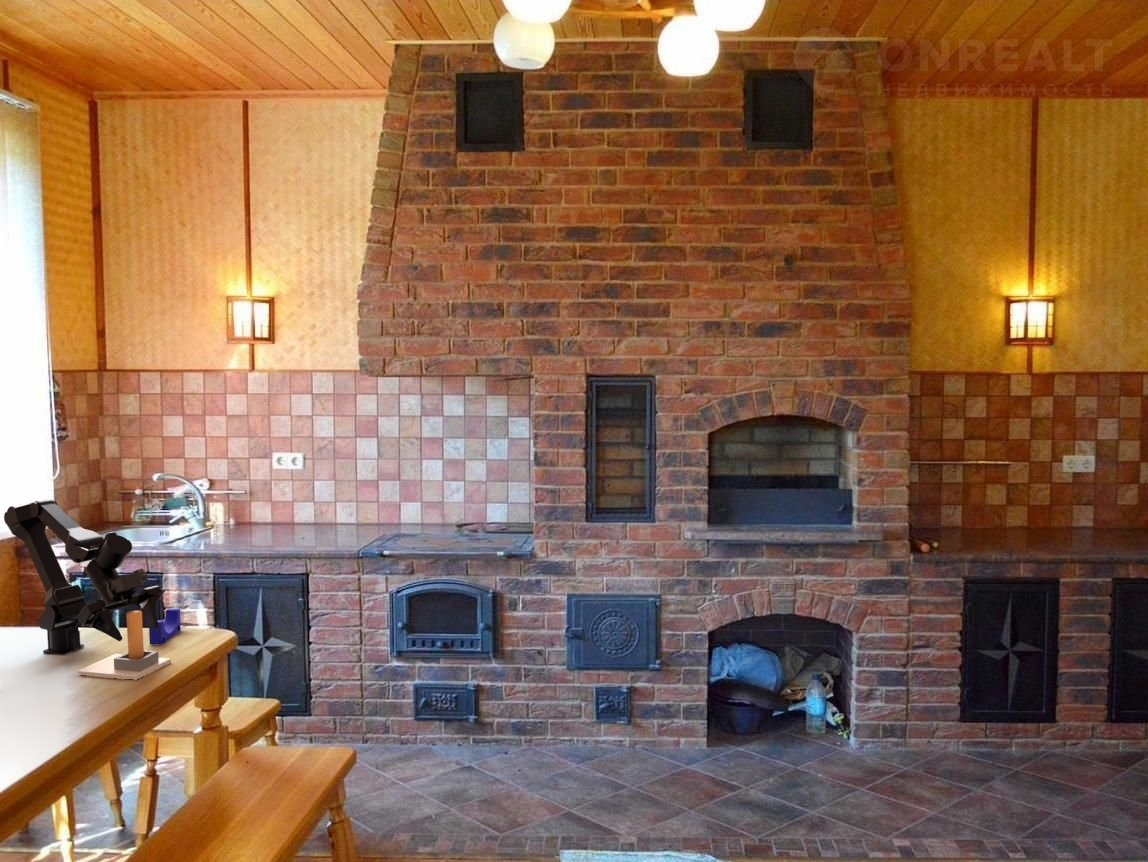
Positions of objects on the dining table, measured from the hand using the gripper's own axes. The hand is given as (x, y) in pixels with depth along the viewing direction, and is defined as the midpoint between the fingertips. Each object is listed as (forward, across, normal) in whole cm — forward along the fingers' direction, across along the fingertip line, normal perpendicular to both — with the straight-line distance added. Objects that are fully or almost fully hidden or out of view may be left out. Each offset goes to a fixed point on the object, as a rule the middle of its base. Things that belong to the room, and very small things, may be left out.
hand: (139, 634), depth 212 cm
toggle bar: (+4, 0, +6) cm, 8 cm away
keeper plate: (+3, -1, +9) cm, 10 cm away
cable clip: (-6, +18, +18) cm, 27 cm away
